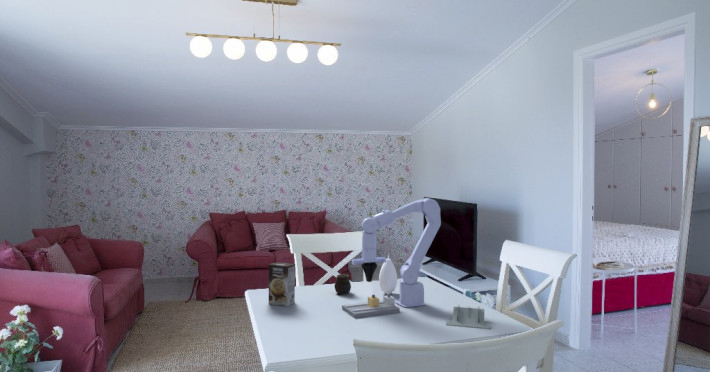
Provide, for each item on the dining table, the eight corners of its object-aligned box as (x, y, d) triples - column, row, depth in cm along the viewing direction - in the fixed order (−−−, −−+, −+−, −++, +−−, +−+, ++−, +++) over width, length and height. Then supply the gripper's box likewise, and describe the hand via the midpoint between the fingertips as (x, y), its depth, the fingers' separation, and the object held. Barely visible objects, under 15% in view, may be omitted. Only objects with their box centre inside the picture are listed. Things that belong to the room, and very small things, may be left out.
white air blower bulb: (375, 294, 210) (376, 253, 210) (384, 290, 217) (385, 251, 216) (391, 297, 206) (391, 255, 205) (400, 293, 212) (400, 252, 212)
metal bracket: (448, 300, 181) (490, 303, 177) (448, 314, 182) (489, 317, 179) (445, 322, 167) (490, 326, 164) (445, 336, 169) (490, 341, 165)
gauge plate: (385, 304, 195) (385, 290, 195) (399, 312, 184) (400, 297, 184) (341, 309, 188) (342, 294, 187) (354, 317, 177) (354, 302, 176)
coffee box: (267, 304, 194) (267, 264, 194) (276, 300, 200) (276, 261, 200) (287, 306, 191) (287, 266, 190) (295, 302, 197) (295, 263, 196)
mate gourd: (343, 290, 217) (343, 268, 216) (354, 293, 211) (355, 271, 211) (331, 293, 212) (331, 270, 212) (342, 296, 206) (342, 273, 206)
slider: (374, 303, 189) (374, 293, 189) (379, 306, 185) (379, 295, 185) (367, 304, 188) (367, 294, 187) (372, 307, 184) (372, 296, 184)
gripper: (380, 245, 200) (380, 277, 201) (348, 247, 194) (348, 280, 195) (388, 247, 194) (388, 281, 194) (355, 250, 188) (355, 284, 188)
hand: (368, 281), depth 194 cm, fingers closed
